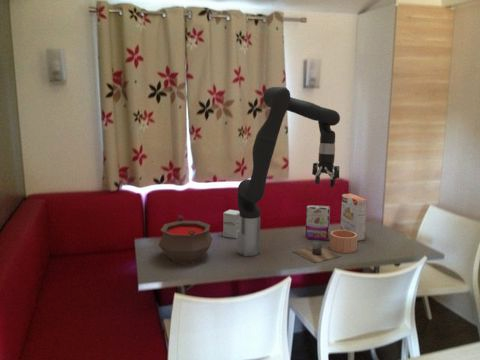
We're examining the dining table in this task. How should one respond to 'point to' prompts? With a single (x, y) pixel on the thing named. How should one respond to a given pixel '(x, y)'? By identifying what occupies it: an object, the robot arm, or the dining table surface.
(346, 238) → the terracotta bowl
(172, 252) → the brown cooking pot
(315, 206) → the candy bar box
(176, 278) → the dining table surface
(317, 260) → the walnut lid
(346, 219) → the cracker box
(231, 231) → the supplement box
